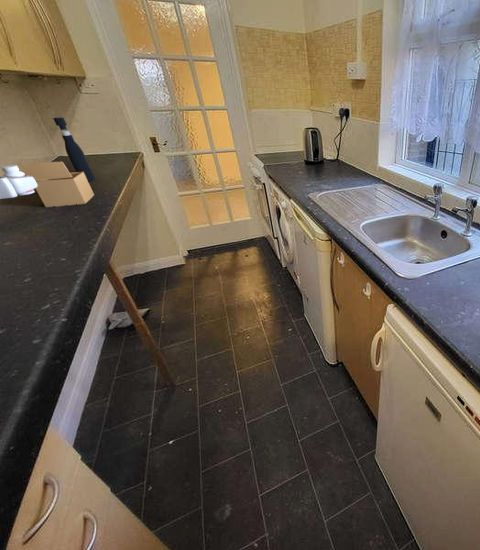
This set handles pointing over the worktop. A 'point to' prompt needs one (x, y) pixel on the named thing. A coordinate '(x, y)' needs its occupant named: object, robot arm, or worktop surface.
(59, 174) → the carton flap
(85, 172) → the folded umbrella
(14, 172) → the pill bottle
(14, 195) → the robot arm
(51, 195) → the carton
